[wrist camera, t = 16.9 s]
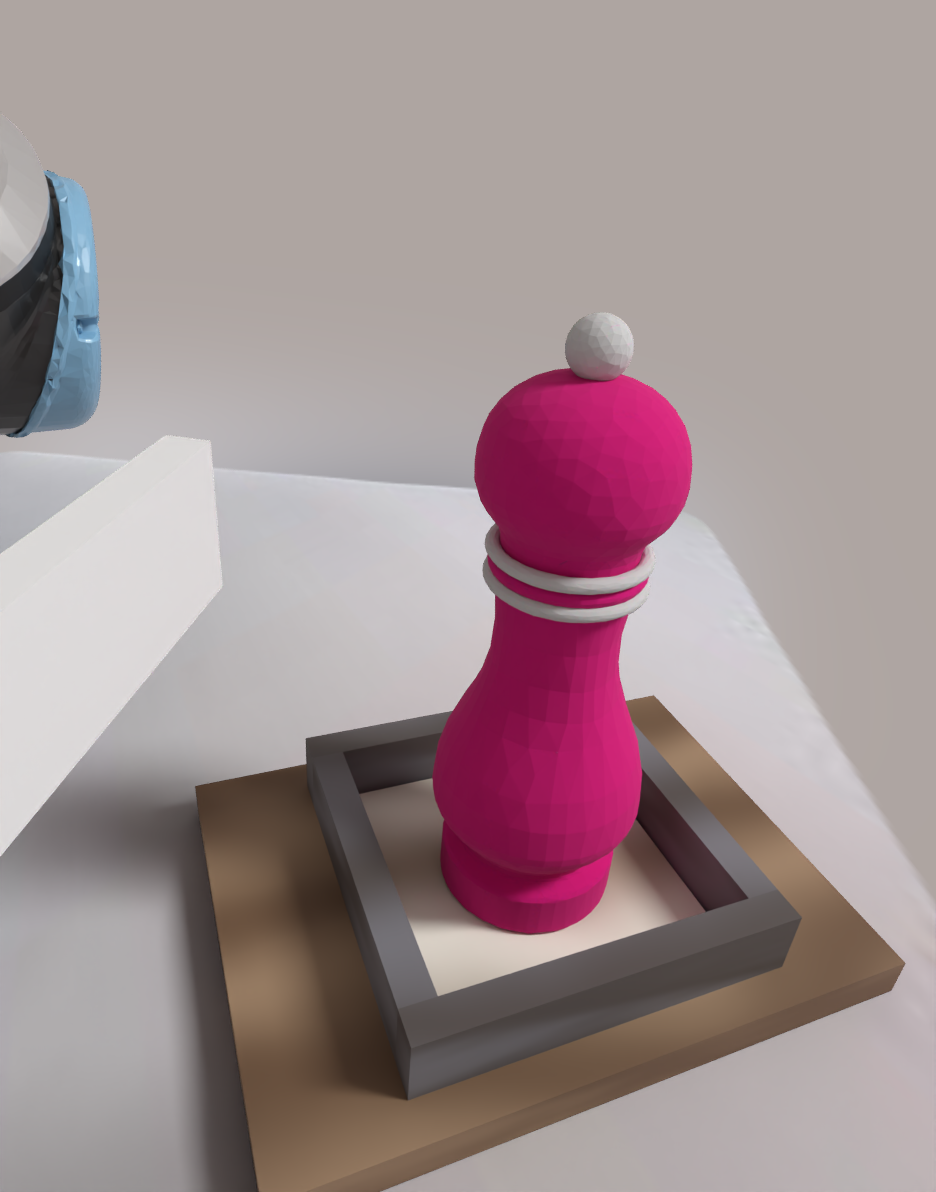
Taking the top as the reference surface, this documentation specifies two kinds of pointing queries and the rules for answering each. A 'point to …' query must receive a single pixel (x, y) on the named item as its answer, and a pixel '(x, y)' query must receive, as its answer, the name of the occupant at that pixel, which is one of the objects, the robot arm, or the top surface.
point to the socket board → (496, 957)
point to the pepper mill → (558, 635)
